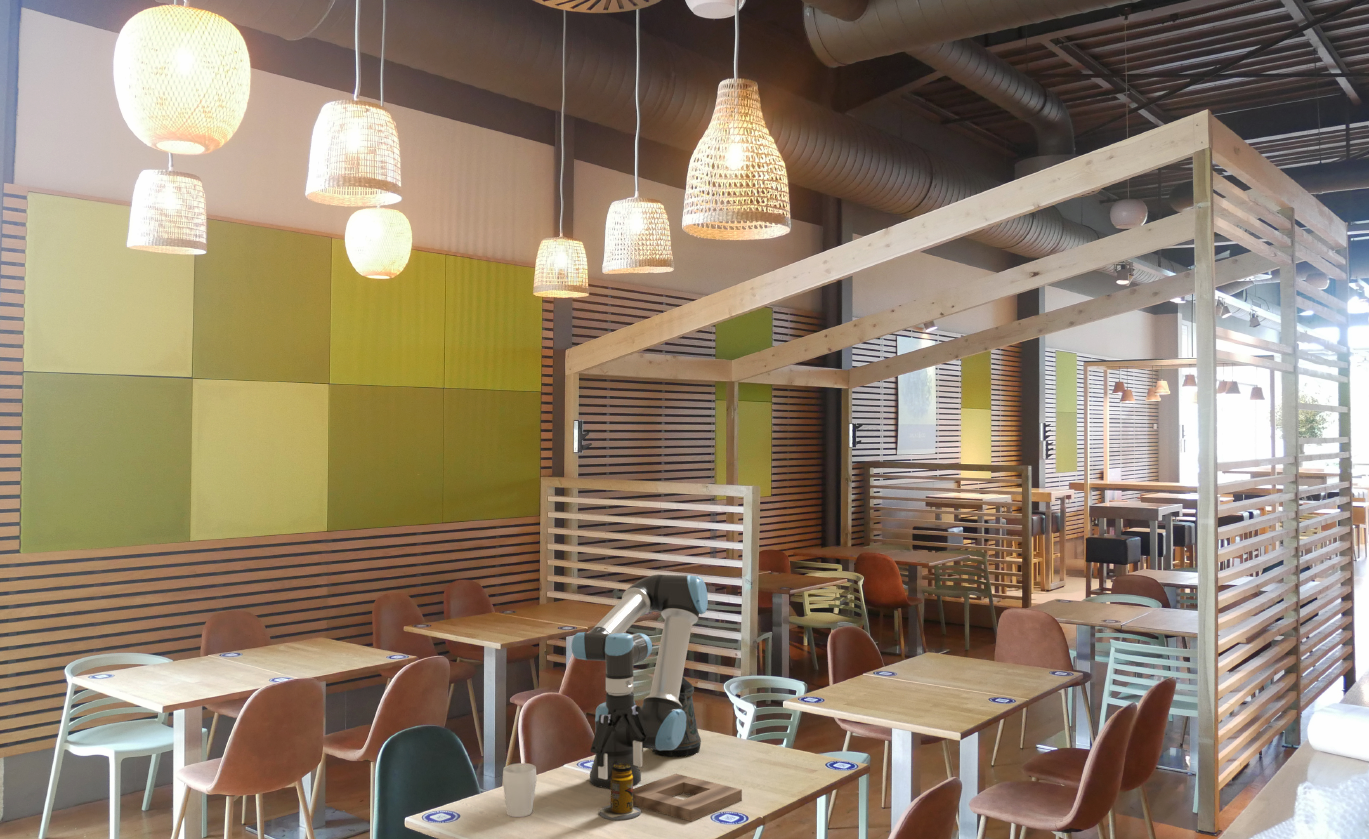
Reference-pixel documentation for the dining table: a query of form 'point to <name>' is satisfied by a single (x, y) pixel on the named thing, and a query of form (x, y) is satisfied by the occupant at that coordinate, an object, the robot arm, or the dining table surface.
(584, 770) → the dining table surface
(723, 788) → the holder board
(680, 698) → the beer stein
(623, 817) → the coaster
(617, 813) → the condiment
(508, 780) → the cup
